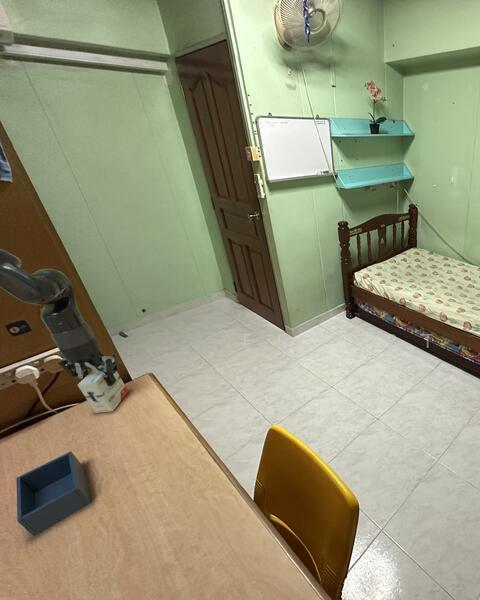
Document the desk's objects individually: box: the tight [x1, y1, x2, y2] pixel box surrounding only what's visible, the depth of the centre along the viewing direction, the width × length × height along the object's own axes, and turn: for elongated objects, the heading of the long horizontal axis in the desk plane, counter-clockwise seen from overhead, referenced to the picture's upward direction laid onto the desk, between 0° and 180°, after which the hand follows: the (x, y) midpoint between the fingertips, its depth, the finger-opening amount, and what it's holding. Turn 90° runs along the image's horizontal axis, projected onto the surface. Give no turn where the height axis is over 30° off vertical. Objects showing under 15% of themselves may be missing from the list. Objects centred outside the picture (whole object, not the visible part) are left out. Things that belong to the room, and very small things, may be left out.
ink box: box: [77, 365, 129, 414], centre depth 95 cm, size 8×5×12 cm, turn 9°
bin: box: [16, 451, 92, 537], centre depth 72 cm, size 9×13×6 cm
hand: (102, 384), depth 95 cm, fingers closed on ink box, 5 cm apart
